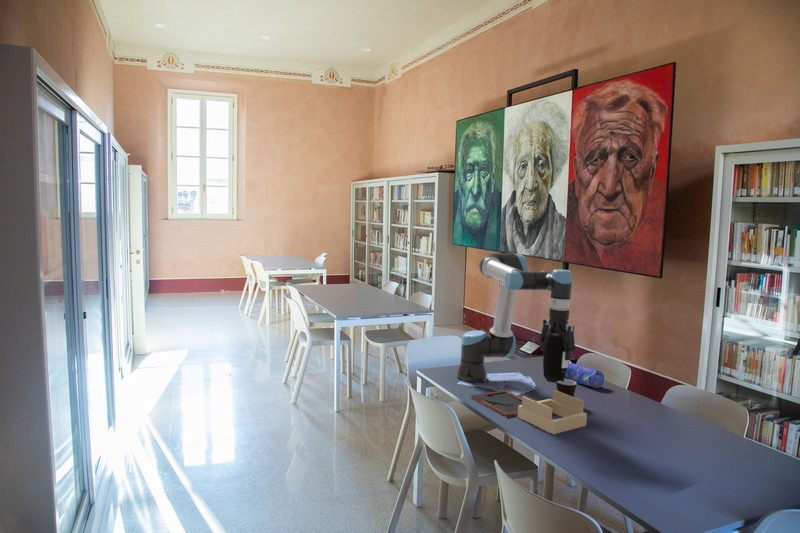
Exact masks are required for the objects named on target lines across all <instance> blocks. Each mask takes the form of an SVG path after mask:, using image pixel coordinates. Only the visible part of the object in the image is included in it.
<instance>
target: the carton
mask: <svg viewBox="0 0 800 533" xmlns="http://www.w3.org/2000/svg"><path fill="white" fill-rule="evenodd" d="M521 398H522V405H519V406H518V415H517V416H516V417H518V419H519V418H520V420H521V419H522V420H521V421H524V420H525V421H524V422H526V421H527V422H526V423H528V422H529V423H528V424H530V423H531V424H530V425H532V424H533V425H532V426H534V425H535V426H534V427H536V426H537V427H536V428H538V427H539V428H538V429H540V428H541V430H542V431H545V432H547V433H549V434H551V433H552V435H553V434H554V435H557V433H558V434H561V433H565V432H567V431H568V430H569V431H571V430H575V429H579V428H582V427H583V428H584V427H586V426H587V422H588V421H587V419H588V413H587V412H584V406H585V404H584V403H585V401H584V400H583V399H580V398H577V397H575V396H574V397H572V396H570V395H567V394H564V393H562V392H559V391H557V389H553V391H552V398H546V399H543V400H539V401H537V400H534V399H531V398H529V397H526V396H524V395H523V396H522V397H521ZM553 414H555V415H557V416H559V417H561V418H557V419H553ZM564 431H565V432H564ZM560 432H561V433H560Z"/></svg>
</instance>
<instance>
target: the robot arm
mask: <svg viewBox="0 0 800 533" xmlns="http://www.w3.org/2000/svg"><path fill="white" fill-rule="evenodd" d="M478 267H479V268H478V269H479V272H480V273H481V274H482V275H483V276H484V277H487V278H490V279H496V280H497V282H498V283H499V286H498V294H497V300H496V306H495V314H494V319H493V326H492V327H491V328H489V333H486V332H485V331H483V330H470V331H466V332H465V333H463V334H462V336H461V341H460V343H461V348H460V350H461V351H460V361H459V362H460V363H459V366H458V369H457V371H456V375H455V377H456V376H457V377H456V379H458V378H459V379H458V380H460V379H461V380H460V381H462V380H465V381H464V382H467V381H471V382H470V383H479V382H478V381H483V382H485V381H487V379H488V378H487V377H488V374H487V370H486V367H485V358H508V357H510V356H512V355H513V354H514V353H515V351H516V348H517V343H516V341H517V340H516V337H515V335H514V333H513V331H512V330H511V329H512V328H511V327H512V322H513V316H514V309H515V303H516V297H517V292H518V291H519V290H520V291H523V290H525V291H527V290H528V291H529V290H530V291H550V298H549V299H550V302H549V304H550V305H549V312H548V317H549V319H548V318H547V319H543V320H542V328H541V333H540V335H539V341H538V342H539V343H541V344H542V353H543V354H544V345H545V341H546V337H547V332H548V331H549V332H551V333H555V332H558V333H559V335H563V346H564V350H565V351H563V357H562V368H568V361H571V353H572V352H576V345H575V343H576V342H575V334H574V331H575V326H574V325H570V324H569V322H568V320H569V319H570V308H571V296H572V295H571V294H572V283H573V273H572V271H571V270H569V269H561V268H560V269H557V268H556V269H553V270H552V271H550V270H541V271H529V265H528V260H527V258H526V256H524V255H523V254H521V253H515V252H514V253H507V252H506V253H503V252H501V253H499V252H498V253H497V252H493V253H488V254H486V255H485V256H483V257H482V258H481V259H480V262H479V265H478ZM562 332H564V333H562ZM564 334H567V335H566V336H564ZM567 348H568V349H567ZM484 380H485V381H484Z"/></svg>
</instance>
